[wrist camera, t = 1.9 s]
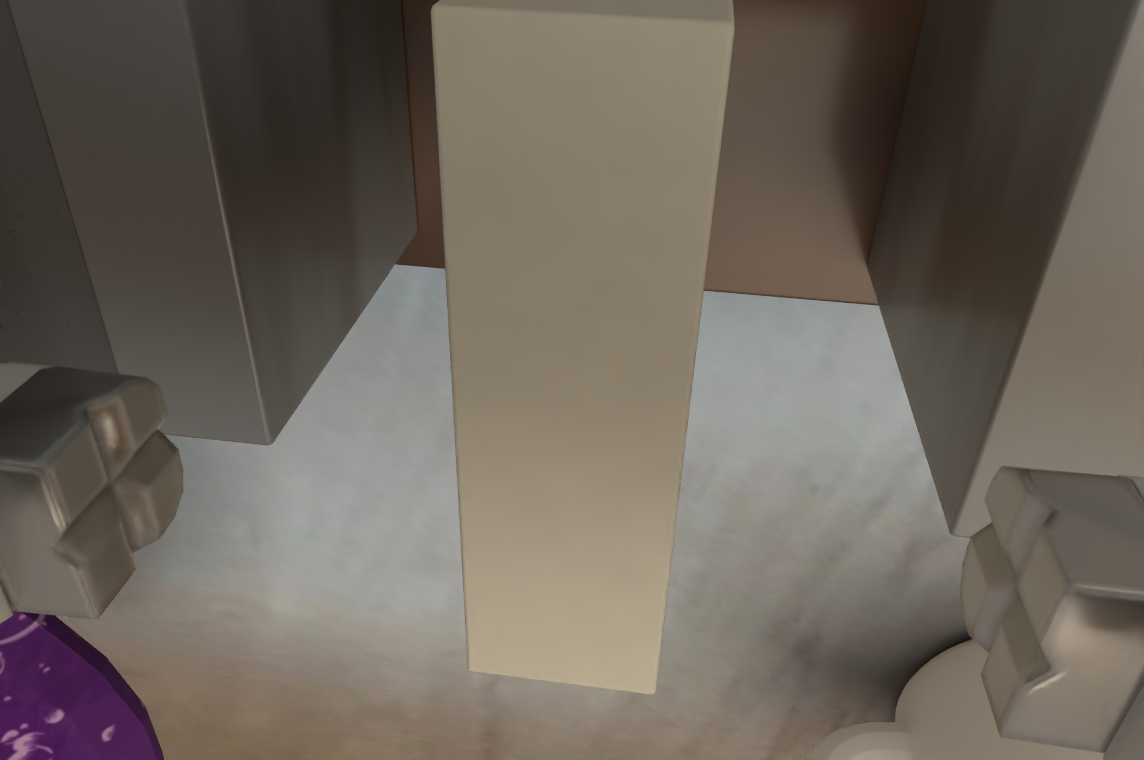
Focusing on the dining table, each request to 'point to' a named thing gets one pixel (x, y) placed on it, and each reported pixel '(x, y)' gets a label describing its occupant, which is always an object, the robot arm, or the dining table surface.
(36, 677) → the decorative mushroom
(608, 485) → the white book
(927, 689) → the mug
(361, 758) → the dining table surface
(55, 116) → the brown book rack
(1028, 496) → the robot arm
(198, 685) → the dining table surface
